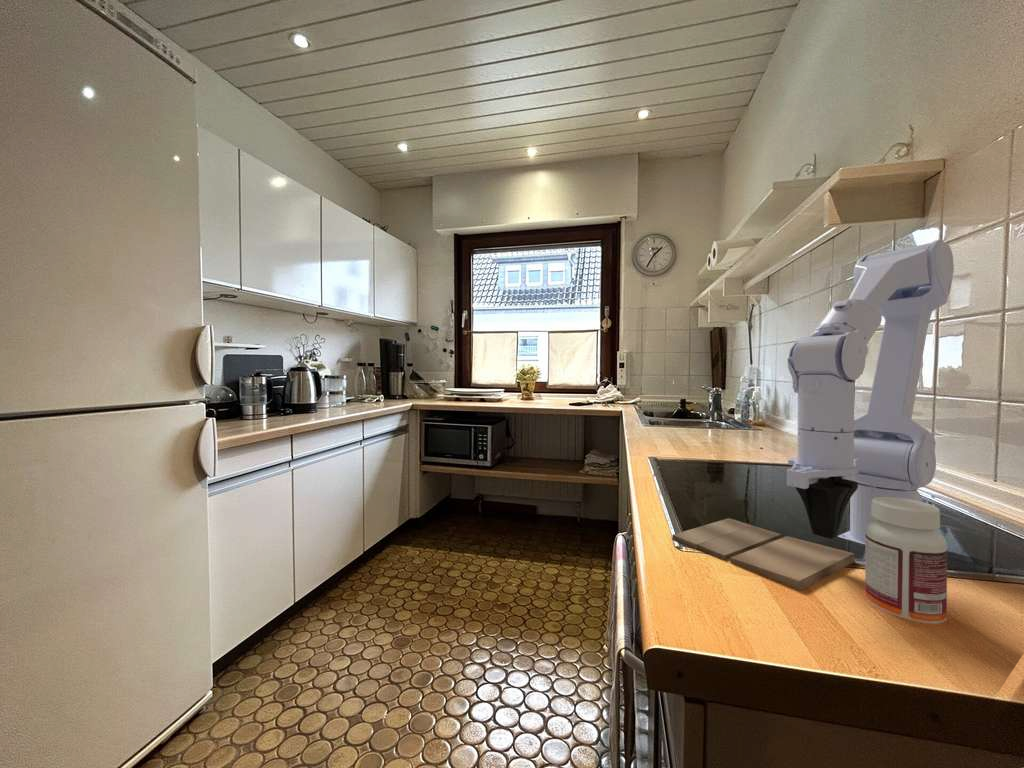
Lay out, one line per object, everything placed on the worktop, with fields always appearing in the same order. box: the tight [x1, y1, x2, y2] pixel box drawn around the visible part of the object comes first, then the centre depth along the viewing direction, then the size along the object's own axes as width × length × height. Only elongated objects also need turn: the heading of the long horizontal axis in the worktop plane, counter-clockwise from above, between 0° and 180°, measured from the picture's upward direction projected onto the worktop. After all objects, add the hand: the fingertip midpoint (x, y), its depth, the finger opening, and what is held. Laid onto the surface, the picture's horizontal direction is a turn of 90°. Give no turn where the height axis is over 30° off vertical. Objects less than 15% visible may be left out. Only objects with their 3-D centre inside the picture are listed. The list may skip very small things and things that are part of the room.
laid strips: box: [671, 517, 782, 561], centre depth 60 cm, size 14×9×1 cm, turn 120°
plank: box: [729, 535, 855, 592], centre depth 52 cm, size 14×8×1 cm, turn 120°
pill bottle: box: [864, 497, 949, 624], centre depth 42 cm, size 6×6×11 cm
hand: (824, 535), depth 52 cm, fingers closed
